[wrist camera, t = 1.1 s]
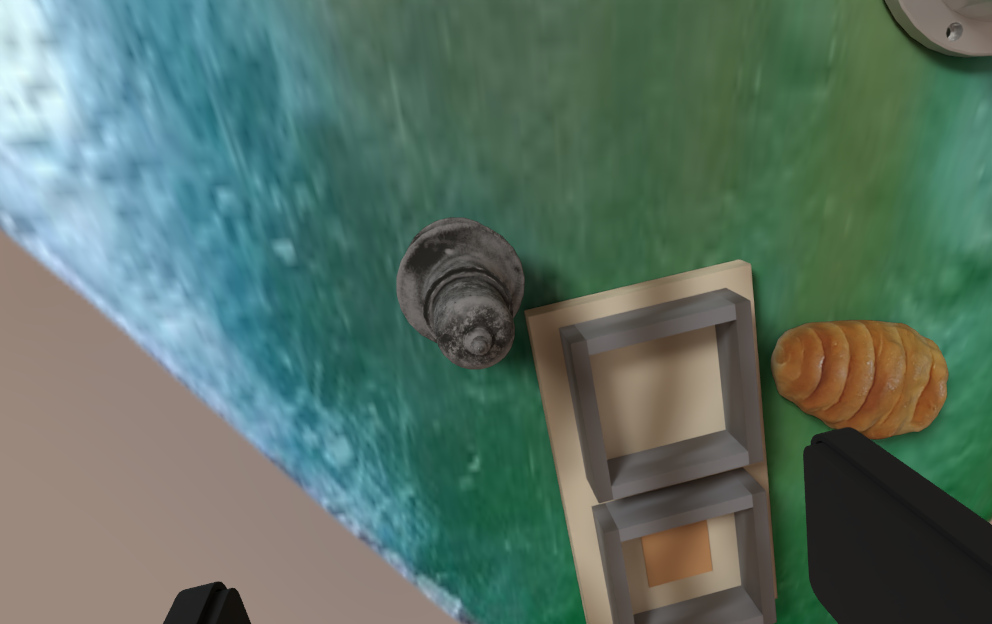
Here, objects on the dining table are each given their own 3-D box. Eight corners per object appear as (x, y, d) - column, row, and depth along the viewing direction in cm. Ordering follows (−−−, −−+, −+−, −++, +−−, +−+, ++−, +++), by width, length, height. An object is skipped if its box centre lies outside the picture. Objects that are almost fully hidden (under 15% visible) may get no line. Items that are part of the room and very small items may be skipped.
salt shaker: (502, 330, 34) (549, 437, 22) (390, 316, 33) (380, 421, 21) (522, 221, 32) (584, 276, 21) (405, 202, 31) (403, 250, 20)
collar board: (739, 259, 34) (777, 275, 31) (767, 584, 41) (800, 628, 37) (523, 310, 33) (537, 332, 30) (588, 633, 40) (605, 682, 37)
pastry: (744, 403, 37) (781, 433, 33) (784, 294, 35) (827, 313, 32) (880, 429, 39) (929, 460, 35) (924, 326, 37) (980, 347, 34)
